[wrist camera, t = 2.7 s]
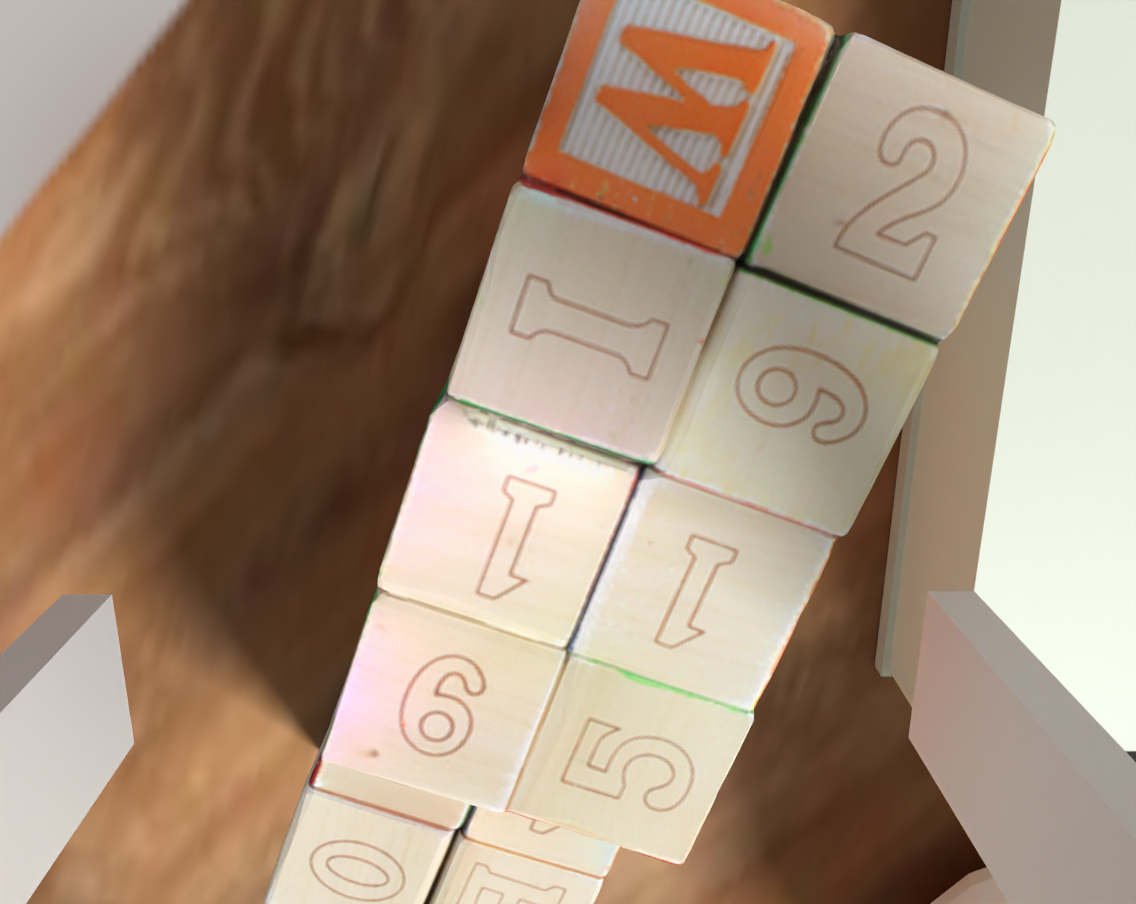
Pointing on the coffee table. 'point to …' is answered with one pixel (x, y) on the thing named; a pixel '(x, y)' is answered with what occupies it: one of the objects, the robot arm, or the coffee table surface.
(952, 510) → the plinth
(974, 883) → the cup
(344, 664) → the coffee table surface
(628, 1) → the stack of blocks
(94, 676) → the robot arm
